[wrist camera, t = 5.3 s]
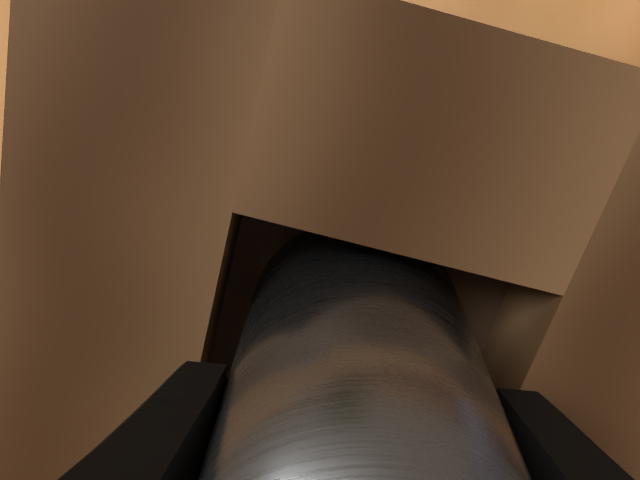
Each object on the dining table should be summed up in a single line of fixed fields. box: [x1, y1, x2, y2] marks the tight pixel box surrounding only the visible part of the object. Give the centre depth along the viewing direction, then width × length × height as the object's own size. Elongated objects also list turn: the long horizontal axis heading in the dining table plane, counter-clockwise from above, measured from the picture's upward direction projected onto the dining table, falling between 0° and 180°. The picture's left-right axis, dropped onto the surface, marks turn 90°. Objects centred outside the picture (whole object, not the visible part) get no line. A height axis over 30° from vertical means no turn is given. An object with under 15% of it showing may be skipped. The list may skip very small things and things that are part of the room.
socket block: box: [0, 0, 640, 480], centre depth 11 cm, size 12×12×2 cm
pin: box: [198, 231, 532, 480], centre depth 8 cm, size 4×4×7 cm
